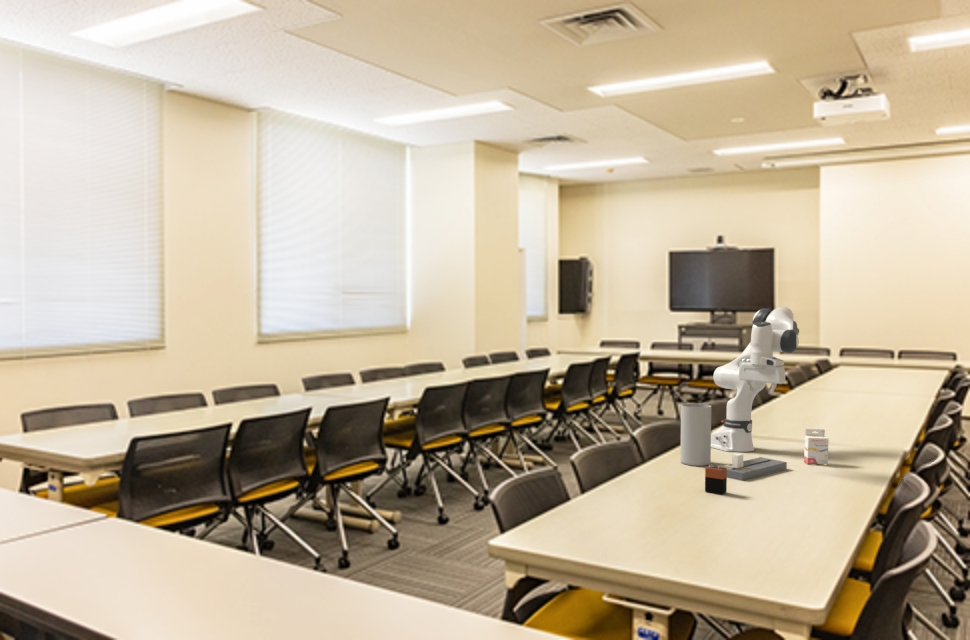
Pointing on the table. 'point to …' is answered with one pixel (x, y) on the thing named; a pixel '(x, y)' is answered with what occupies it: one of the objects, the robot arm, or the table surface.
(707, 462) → the cylinder vase
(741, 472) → the console
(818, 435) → the ink cartridge box
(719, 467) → the battery
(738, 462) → the fader
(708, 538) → the table surface
